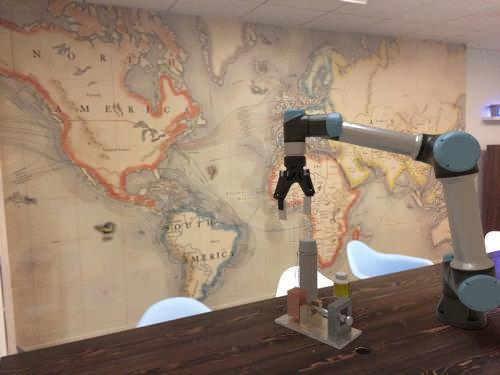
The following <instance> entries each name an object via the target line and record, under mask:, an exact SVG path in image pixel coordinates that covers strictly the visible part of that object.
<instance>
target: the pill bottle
mask: <svg viewBox="0 0 500 375" xmlns="http://www.w3.org/2000/svg"><path fill="white" fill-rule="evenodd" d="M334 276H335V278H333V300H334V301H336V300H338V299H339V298H341V297H343V296H344V297H347V298H350V279H349V278H348V277H349V276H348V273H347V272H344V271H337V272H335V274H334Z"/></svg>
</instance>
